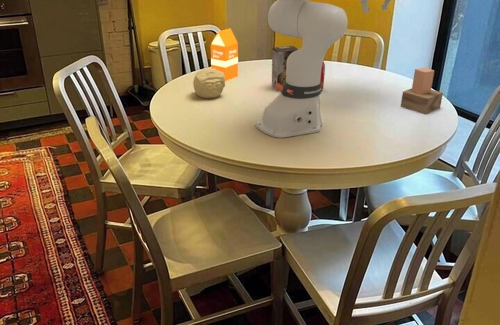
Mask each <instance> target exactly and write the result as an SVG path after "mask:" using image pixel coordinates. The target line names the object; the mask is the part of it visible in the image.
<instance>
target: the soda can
mask: <svg viewBox="0 0 500 325" xmlns="http://www.w3.org/2000/svg"><path fill="white" fill-rule="evenodd" d="M325 71H326V63H325V60H324V59H323V63H322V69H321V78H320V82H321V91H322V90H323V89H324V84H325V76H326V73H325Z"/></svg>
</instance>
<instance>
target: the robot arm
mask: <svg viewBox="0 0 500 325" xmlns="http://www.w3.org/2000/svg"><path fill="white" fill-rule="evenodd" d="M359 1H360V3H361V6H362V7H361V8H362V13H363V14H369V12H370V7H368V4H369V0H359ZM391 2H392V0H384V2H383V4H382V5H381V8H380V9H381V11H388V10H389V5H390V4H391ZM348 20H349V19H348V16H347V12H346V11H345V10H344V8H341V7H340V6H337V5H334V4H331V3H326V2H315V1H310V0H275V1H274V2H273V3H272V4H271V6H270V7H269V10H268V14H267V23H268V25H269V28H270V29H271V31H273V32H275V33H277V34H280V35H282V36H286V37H290V38H296V39H297V38H298V39H302V46H301V48H297V49H298V50H296V51H294V52H292V53H291V54H290V55H289V57H288V59H287V67H286V80H285V82H284V84H283V85H281V84H279V83H277V84H276V85H275V88H276V89H277V90H279V91H278V92H280V93H279V94H278V95H277V96H276V97H275V98H274V99H273V100H272V101H271V102H270V103H269V104H268V105H267V106H265V108H264V111H263V115H262V118H261V119H260V120H256V121H255V126H256V129H258V130H259V131H261V132H262V133H264V134H266V135H268V136H270V137H274V138H279V139H282V138H283V139H284V138H288V137H296V136H301V135H308V134H314V133H319V132H321V126H322V125H323V121H322V117H321V108H320V107H321V106H320V105H321V102H320V101H321V100H320V97H321V96H320V95H321V93H322V90H321V82H320V78H321V69H322V63H323V60H324V58H325V55H326V53H327V51H328V50H329V48H331V46H332V45H333V44H334V43H336V42H338V41H339V40H341V39H342V38H343V37H344V35H345V34H346V31H347V29H348V24H349V23H348Z"/></svg>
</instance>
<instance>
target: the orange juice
mask: <svg viewBox="0 0 500 325" xmlns="http://www.w3.org/2000/svg"><path fill="white" fill-rule="evenodd" d="M238 47H239V43H238V41H237V39H236V37H235V34H234V33H233V30H232V29H231V28H227V29H223V30H219V31H217V33H216V35H215V36H214V39H212V42H211V44H210V65H211V66H210V67H211V68H210V69H213V68H215V69H216V70H218V71H221V72H223V73H224V75H225V81H226V82H228V81H230V80H229V79H231V80H233V79H235V78H234V77H236V78H238V77H239V48H238ZM237 76H238V77H237ZM232 78H233V79H232ZM227 80H228V81H227Z"/></svg>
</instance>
